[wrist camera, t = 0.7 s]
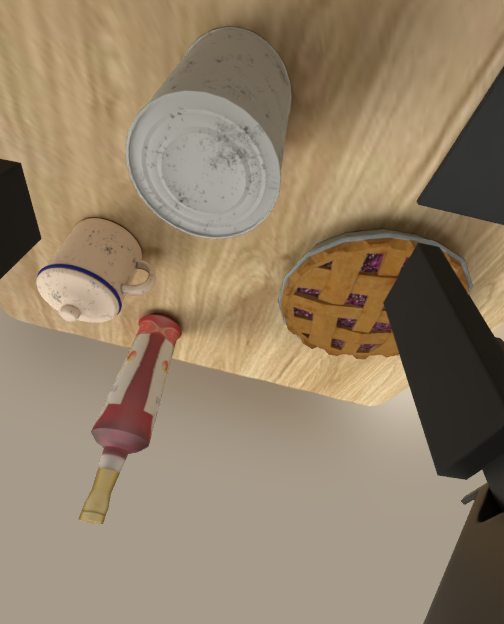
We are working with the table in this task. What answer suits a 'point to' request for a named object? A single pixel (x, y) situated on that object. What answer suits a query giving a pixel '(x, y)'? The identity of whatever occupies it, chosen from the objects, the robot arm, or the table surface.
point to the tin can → (214, 136)
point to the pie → (352, 291)
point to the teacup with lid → (93, 272)
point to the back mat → (474, 165)
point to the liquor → (131, 407)
